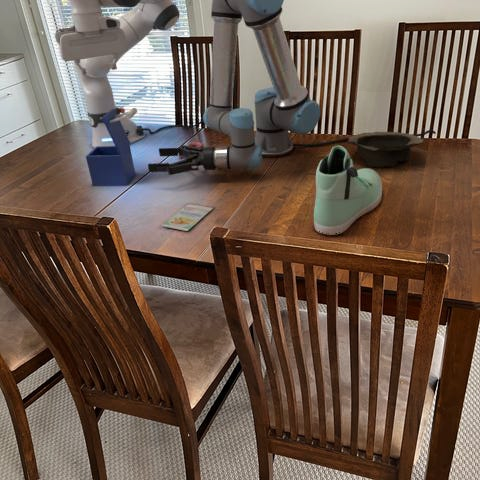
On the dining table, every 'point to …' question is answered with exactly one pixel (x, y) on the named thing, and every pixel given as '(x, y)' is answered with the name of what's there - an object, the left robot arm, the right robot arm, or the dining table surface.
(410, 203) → the dining table surface
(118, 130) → the lid
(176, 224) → the baking ingredient package
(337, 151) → the sneaker
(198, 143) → the candy cane
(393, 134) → the stone bowl
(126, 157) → the chest
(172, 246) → the dining table surface
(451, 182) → the dining table surface
